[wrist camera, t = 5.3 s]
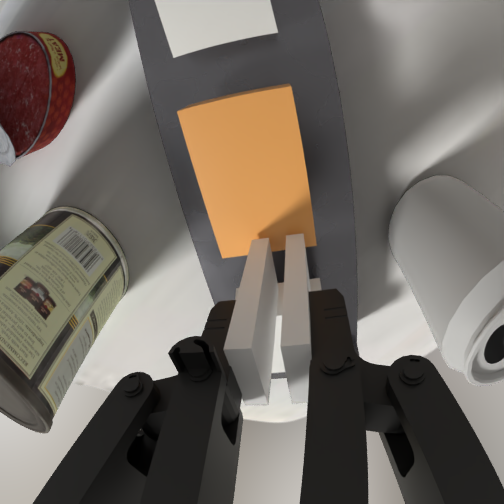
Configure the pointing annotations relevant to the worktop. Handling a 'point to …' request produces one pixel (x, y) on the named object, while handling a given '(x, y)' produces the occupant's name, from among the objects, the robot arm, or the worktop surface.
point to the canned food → (33, 92)
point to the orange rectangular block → (250, 168)
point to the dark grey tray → (310, 124)
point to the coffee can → (53, 309)
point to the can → (455, 271)
